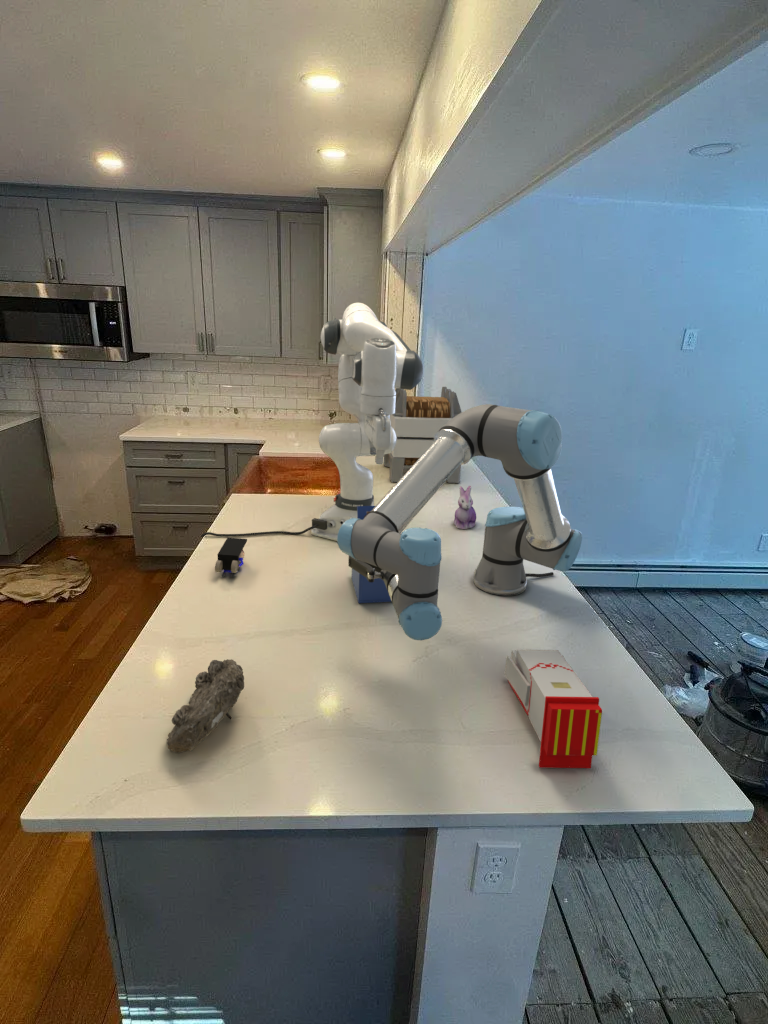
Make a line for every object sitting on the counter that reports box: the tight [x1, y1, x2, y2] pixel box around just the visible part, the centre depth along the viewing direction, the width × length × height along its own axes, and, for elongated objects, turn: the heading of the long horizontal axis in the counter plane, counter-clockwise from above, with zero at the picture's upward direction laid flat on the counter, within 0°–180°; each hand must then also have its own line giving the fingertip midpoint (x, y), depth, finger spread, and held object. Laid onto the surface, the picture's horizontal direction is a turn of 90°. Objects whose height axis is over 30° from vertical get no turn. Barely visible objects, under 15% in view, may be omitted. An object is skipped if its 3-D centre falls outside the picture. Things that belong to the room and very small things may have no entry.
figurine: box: [453, 485, 477, 530], centre depth 208 cm, size 9×10×15 cm
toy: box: [504, 648, 603, 769], centre depth 111 cm, size 12×13×30 cm
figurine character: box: [214, 537, 248, 578], centre depth 166 cm, size 7×8×15 cm
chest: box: [351, 568, 392, 604], centre depth 158 cm, size 15×10×11 cm, turn 10°
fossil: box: [166, 658, 245, 754], centre depth 106 cm, size 22×10×15 cm
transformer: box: [382, 386, 463, 484], centre depth 268 cm, size 34×33×41 cm
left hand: (375, 458), depth 148 cm, fingers open, 8 cm apart
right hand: (386, 545), depth 135 cm, fingers open, 13 cm apart
